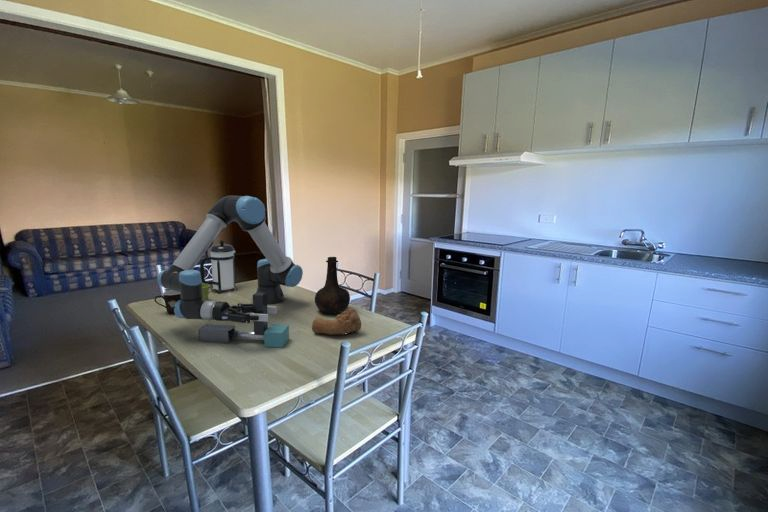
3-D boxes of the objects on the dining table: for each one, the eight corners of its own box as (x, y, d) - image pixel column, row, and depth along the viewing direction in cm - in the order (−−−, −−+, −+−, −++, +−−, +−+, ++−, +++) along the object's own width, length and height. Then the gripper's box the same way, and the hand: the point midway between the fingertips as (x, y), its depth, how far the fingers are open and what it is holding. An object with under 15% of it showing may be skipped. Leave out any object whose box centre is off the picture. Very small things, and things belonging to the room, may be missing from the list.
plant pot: (191, 299, 185) (190, 284, 184) (211, 298, 189) (210, 282, 188) (190, 305, 177) (189, 289, 175) (210, 303, 181) (209, 287, 179)
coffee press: (216, 286, 212) (213, 237, 206) (242, 287, 212) (240, 239, 206) (201, 294, 195) (197, 242, 189) (228, 295, 195) (226, 243, 189)
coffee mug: (189, 309, 170) (187, 290, 169) (177, 315, 162) (175, 295, 160) (167, 308, 171) (165, 289, 170) (154, 314, 163) (152, 294, 161)
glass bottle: (344, 318, 166) (345, 262, 161) (309, 315, 169) (308, 259, 163) (353, 306, 183) (354, 255, 178) (321, 304, 186) (321, 253, 181)
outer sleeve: (199, 341, 136) (198, 329, 136) (207, 335, 142) (206, 323, 141) (228, 343, 136) (227, 331, 135) (235, 336, 142) (235, 325, 141)
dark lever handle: (227, 339, 137) (224, 293, 133) (232, 335, 141) (229, 290, 137) (274, 342, 136) (272, 296, 132) (277, 338, 140) (276, 293, 136)
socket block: (264, 346, 134) (264, 332, 133) (272, 337, 142) (272, 324, 141) (282, 347, 134) (281, 333, 133) (289, 338, 142) (288, 325, 140)
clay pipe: (351, 349, 142) (367, 327, 154) (348, 329, 137) (364, 308, 149) (313, 339, 149) (330, 319, 161) (309, 320, 144) (327, 300, 156)
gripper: (229, 310, 148) (281, 313, 147) (201, 330, 127) (261, 333, 126) (228, 294, 146) (281, 296, 145) (200, 310, 126) (261, 314, 125)
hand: (272, 313), depth 136 cm, fingers open, 8 cm apart
